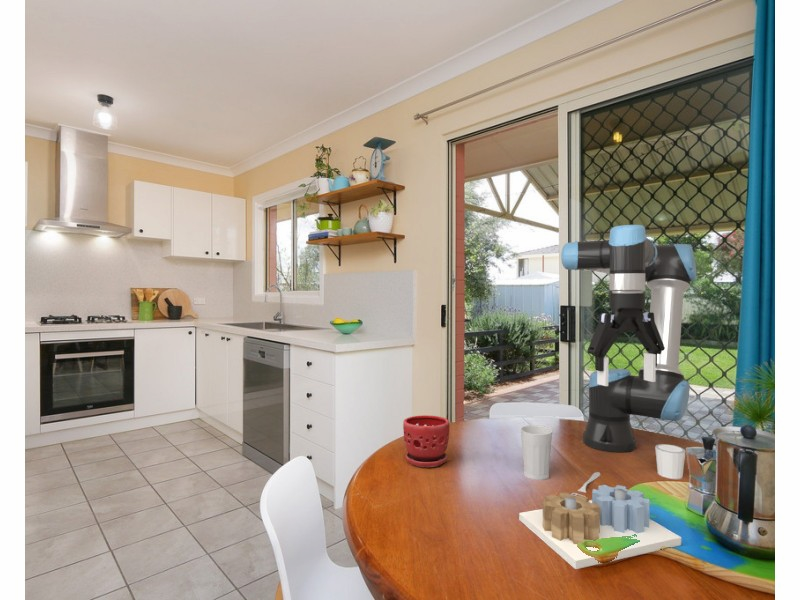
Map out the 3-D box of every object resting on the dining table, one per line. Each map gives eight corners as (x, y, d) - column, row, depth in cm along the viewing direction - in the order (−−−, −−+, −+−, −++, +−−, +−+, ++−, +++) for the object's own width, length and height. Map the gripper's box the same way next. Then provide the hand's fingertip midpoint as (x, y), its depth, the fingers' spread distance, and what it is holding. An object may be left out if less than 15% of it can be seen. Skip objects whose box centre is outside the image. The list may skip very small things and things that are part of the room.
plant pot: (457, 466, 127) (457, 423, 127) (413, 473, 123) (413, 429, 122) (437, 450, 139) (437, 411, 139) (397, 456, 135) (396, 416, 134)
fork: (607, 472, 123) (607, 465, 123) (579, 506, 104) (579, 498, 104) (595, 469, 125) (595, 462, 125) (565, 502, 106) (565, 494, 106)
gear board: (611, 503, 105) (611, 470, 105) (681, 545, 88) (681, 506, 88) (519, 519, 98) (519, 485, 97) (575, 569, 81) (575, 527, 80)
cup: (554, 482, 116) (554, 435, 116) (521, 480, 118) (521, 433, 117) (550, 470, 124) (550, 425, 124) (519, 467, 126) (519, 424, 125)
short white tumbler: (651, 475, 120) (651, 448, 120) (658, 467, 125) (659, 441, 125) (682, 482, 115) (682, 454, 115) (688, 474, 120) (688, 447, 120)
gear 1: (560, 511, 98) (561, 488, 98) (609, 530, 90) (609, 505, 90) (532, 528, 92) (532, 503, 91) (582, 551, 83) (582, 523, 83)
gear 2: (621, 504, 101) (621, 481, 101) (661, 528, 91) (661, 503, 91) (581, 511, 98) (581, 488, 98) (618, 537, 88) (618, 511, 88)
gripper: (655, 291, 115) (655, 376, 115) (571, 292, 107) (571, 383, 108) (682, 291, 107) (681, 382, 108) (594, 293, 100) (593, 390, 100)
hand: (626, 383), depth 108 cm, fingers open, 13 cm apart
